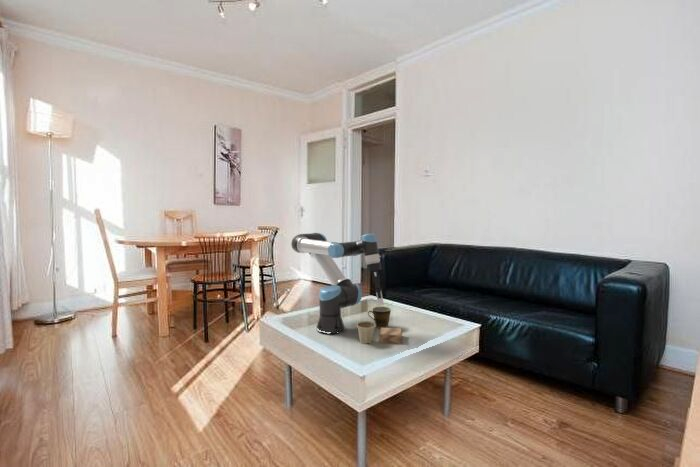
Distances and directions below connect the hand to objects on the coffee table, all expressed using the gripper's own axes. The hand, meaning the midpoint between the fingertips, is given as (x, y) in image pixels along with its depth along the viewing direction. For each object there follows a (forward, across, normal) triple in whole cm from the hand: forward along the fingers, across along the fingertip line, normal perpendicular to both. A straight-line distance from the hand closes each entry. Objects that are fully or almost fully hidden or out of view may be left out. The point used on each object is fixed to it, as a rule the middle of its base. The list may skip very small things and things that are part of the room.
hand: (380, 303), depth 186 cm
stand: (+18, -3, -2) cm, 18 cm away
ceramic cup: (+14, +15, +4) cm, 21 cm away
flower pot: (+16, -7, +11) cm, 21 cm away
